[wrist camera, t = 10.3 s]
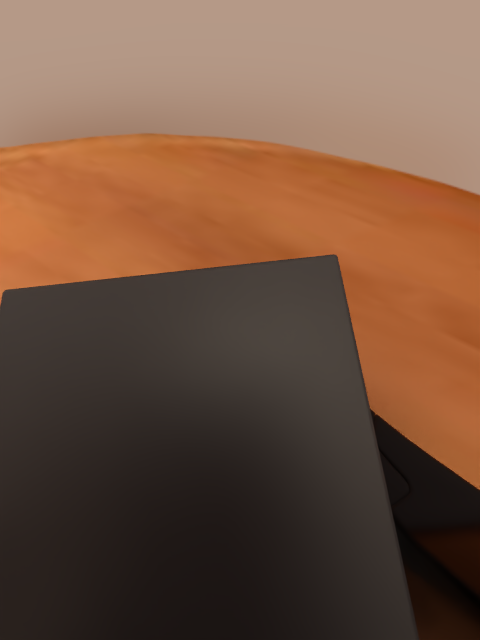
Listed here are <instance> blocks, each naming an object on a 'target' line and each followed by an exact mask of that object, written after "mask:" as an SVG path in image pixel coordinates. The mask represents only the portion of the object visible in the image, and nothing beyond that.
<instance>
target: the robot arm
mask: <svg viewBox="0 0 480 640" xmlns="http://www.w3.org/2000/svg"><path fill="white" fill-rule="evenodd" d="M370 411H371V416H372V421H373V425H374V430H375V435H376V439H377V444H378V449H379V453H380V458H381V463H382V467H383V472H384V477H385V481H386V486H387V491H388V495H389V500H390V505H391V509H392V514H393V519H394V523H395V528H396V533H397V537H398V542H399V547H400V551H401V556H402V561H403V565H404V570H405V575H406V579H407V584H408V589H409V593H410V598H411V603H412V607H413V612H414V617H415V621H416V626H417V631H418V635H419V640H480V490H479V489H477V488H476V487H474V486H473V485H472V484H470V483H469V482H467V481H466V480H464V479H463V478H462V477H460V476H459V475H457V474H456V473H455V472H453V471H452V470H450V469H449V468H447V467H446V466H445V465H443V464H442V463H440V462H439V461H437V460H436V459H435V458H433V457H432V456H430V455H429V454H428V453H426V452H425V451H424V450H422V449H421V448H419V447H418V446H417V445H415V444H414V443H413V442H411V441H410V440H408V439H407V438H406V437H405V436H403V435H402V434H401V433H400V432H398V431H397V430H396V429H394V428H393V427H392V426H391V425H389V424H388V423H387V422H386V421H385V420H383V419H382V418H381V417H380V416H378V415H375V412H373V411H372V410H371V409H370Z"/></svg>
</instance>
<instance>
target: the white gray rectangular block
mask: <svg viewBox="0 0 480 640" xmlns="http://www.w3.org/2000/svg"><path fill="white" fill-rule="evenodd" d="M0 640H419V635H418V631H417V626H416V621H415V617H414V612H413V607H412V603H411V598H410V593H409V589H408V584H407V579H406V575H405V570H404V565H403V561H402V556H401V551H400V547H399V542H398V537H397V533H396V528H395V523H394V519H393V514H392V509H391V505H390V500H389V495H388V491H387V486H386V481H385V477H384V472H383V467H382V463H381V458H380V453H379V449H378V444H377V439H376V435H375V430H374V425H373V421H372V416H371V411H370V406H369V402H368V397H367V392H366V388H365V383H364V378H363V374H362V369H361V364H360V360H359V355H358V350H357V346H356V341H355V336H354V332H353V327H352V322H351V318H350V313H349V308H348V304H347V299H346V294H345V290H344V285H343V280H342V276H341V271H340V266H339V262H338V257H337V256H336V255H325V256H316V257H306V258H297V259H288V260H278V261H269V262H260V263H251V264H241V265H232V266H223V267H214V268H204V269H195V270H186V271H177V272H167V273H158V274H149V275H140V276H130V277H121V278H112V279H103V280H93V281H84V282H75V283H66V284H56V285H47V286H38V287H28V288H19V289H10V290H5V291H4V292H3V295H2V300H1V306H0Z"/></svg>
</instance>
